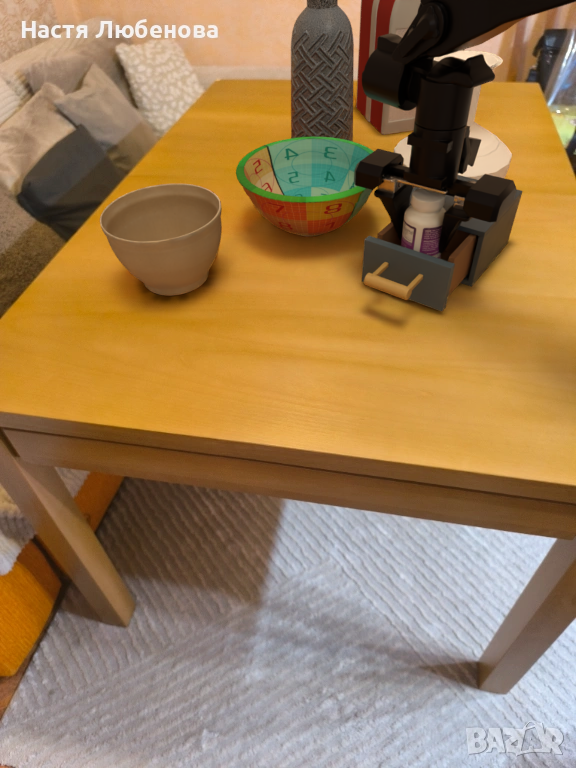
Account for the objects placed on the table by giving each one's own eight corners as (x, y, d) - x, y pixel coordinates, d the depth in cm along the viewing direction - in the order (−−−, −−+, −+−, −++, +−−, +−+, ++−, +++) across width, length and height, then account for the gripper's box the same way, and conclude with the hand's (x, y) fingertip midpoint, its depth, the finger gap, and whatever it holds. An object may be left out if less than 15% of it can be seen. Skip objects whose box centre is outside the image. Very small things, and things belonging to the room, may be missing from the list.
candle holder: (529, 185, 93) (566, 61, 79) (444, 219, 86) (467, 91, 72) (448, 148, 105) (468, 35, 91) (368, 175, 99) (376, 58, 85)
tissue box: (420, 97, 125) (439, -49, 106) (454, 124, 113) (482, -35, 94) (354, 106, 123) (360, -41, 104) (381, 135, 111) (394, -25, 92)
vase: (364, 154, 105) (375, -23, 85) (317, 172, 100) (316, -10, 80) (325, 136, 112) (326, -32, 92) (279, 153, 107) (270, -20, 87)
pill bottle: (442, 254, 73) (454, 186, 66) (436, 275, 69) (448, 206, 62) (402, 248, 74) (410, 182, 67) (395, 269, 71) (403, 201, 64)
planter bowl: (249, 259, 81) (241, 191, 73) (195, 322, 71) (179, 251, 63) (161, 240, 86) (145, 175, 78) (99, 296, 76) (73, 228, 68)
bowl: (407, 232, 84) (415, 170, 77) (288, 280, 77) (285, 217, 69) (326, 181, 98) (327, 124, 90) (219, 217, 90) (210, 159, 83)
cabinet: (471, 286, 74) (485, 232, 68) (386, 257, 80) (392, 205, 74) (507, 243, 81) (522, 190, 75) (427, 219, 87) (435, 169, 81)
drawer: (424, 332, 66) (432, 288, 61) (342, 300, 72) (343, 257, 67) (480, 266, 75) (491, 223, 71) (403, 241, 81) (409, 200, 76)
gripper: (550, 112, 59) (514, 238, 70) (400, 87, 67) (389, 202, 78) (513, 148, 53) (480, 279, 64) (354, 115, 61) (349, 236, 72)
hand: (421, 245), depth 70 cm, fingers closed on pill bottle, 5 cm apart
